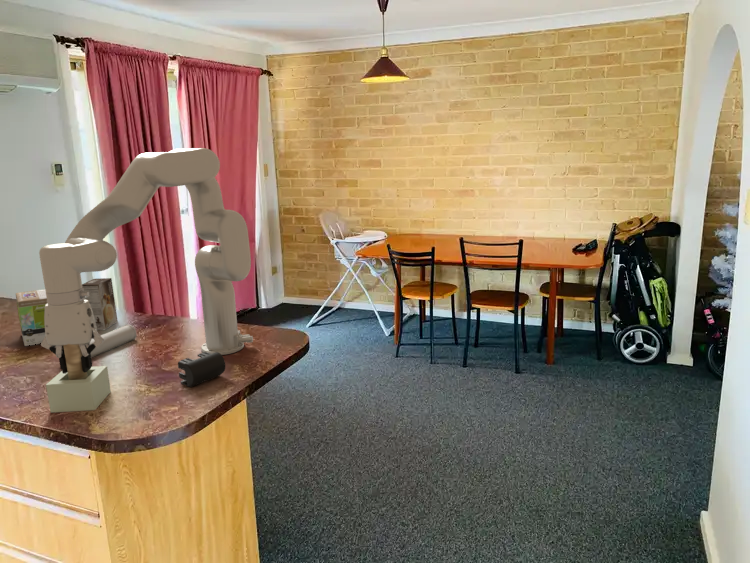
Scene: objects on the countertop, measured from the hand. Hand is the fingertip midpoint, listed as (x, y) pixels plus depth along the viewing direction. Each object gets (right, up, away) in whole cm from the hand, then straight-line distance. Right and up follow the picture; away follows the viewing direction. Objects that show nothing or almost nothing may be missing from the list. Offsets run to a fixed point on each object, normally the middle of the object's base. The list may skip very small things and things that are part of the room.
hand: (77, 370), depth 134 cm
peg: (0, -3, +1) cm, 3 cm away
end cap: (+26, -5, +13) cm, 30 cm away
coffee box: (-23, +6, +61) cm, 65 cm away
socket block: (0, -8, +2) cm, 8 cm away
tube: (-12, -1, +35) cm, 37 cm away
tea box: (-38, +3, +50) cm, 63 cm away
